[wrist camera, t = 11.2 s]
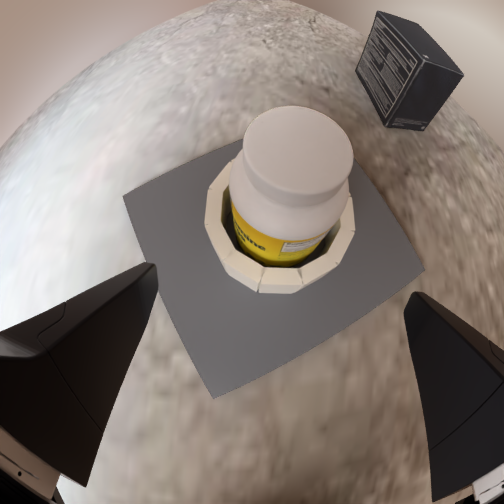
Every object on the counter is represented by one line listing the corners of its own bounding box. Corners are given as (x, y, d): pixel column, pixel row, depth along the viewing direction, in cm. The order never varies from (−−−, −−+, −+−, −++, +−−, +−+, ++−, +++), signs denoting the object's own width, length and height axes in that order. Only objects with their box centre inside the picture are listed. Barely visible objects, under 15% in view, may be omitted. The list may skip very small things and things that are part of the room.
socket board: (214, 395, 19) (205, 414, 14) (126, 201, 23) (103, 173, 18) (419, 272, 22) (452, 258, 17) (315, 119, 26) (325, 84, 21)
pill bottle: (224, 209, 22) (206, 109, 11) (297, 187, 22) (328, 86, 12) (250, 284, 20) (253, 233, 10) (327, 257, 21) (395, 188, 10)
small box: (426, 133, 26) (468, 76, 16) (384, 129, 26) (423, 60, 16) (393, 76, 29) (419, 21, 19) (353, 70, 29) (374, 8, 19)
